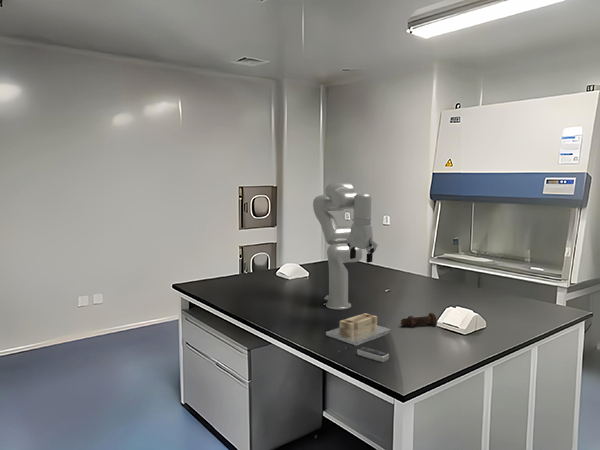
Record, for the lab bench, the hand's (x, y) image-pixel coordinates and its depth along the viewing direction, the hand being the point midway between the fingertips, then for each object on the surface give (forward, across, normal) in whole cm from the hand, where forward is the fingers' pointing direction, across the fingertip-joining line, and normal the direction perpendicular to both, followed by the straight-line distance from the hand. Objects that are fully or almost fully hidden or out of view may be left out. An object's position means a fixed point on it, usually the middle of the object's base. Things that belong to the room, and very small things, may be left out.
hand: (360, 260), depth 202 cm
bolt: (+28, +22, +14) cm, 37 cm away
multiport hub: (+27, +32, -28) cm, 50 cm away
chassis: (+27, +12, -14) cm, 33 cm away
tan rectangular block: (+26, +12, -14) cm, 31 cm away
